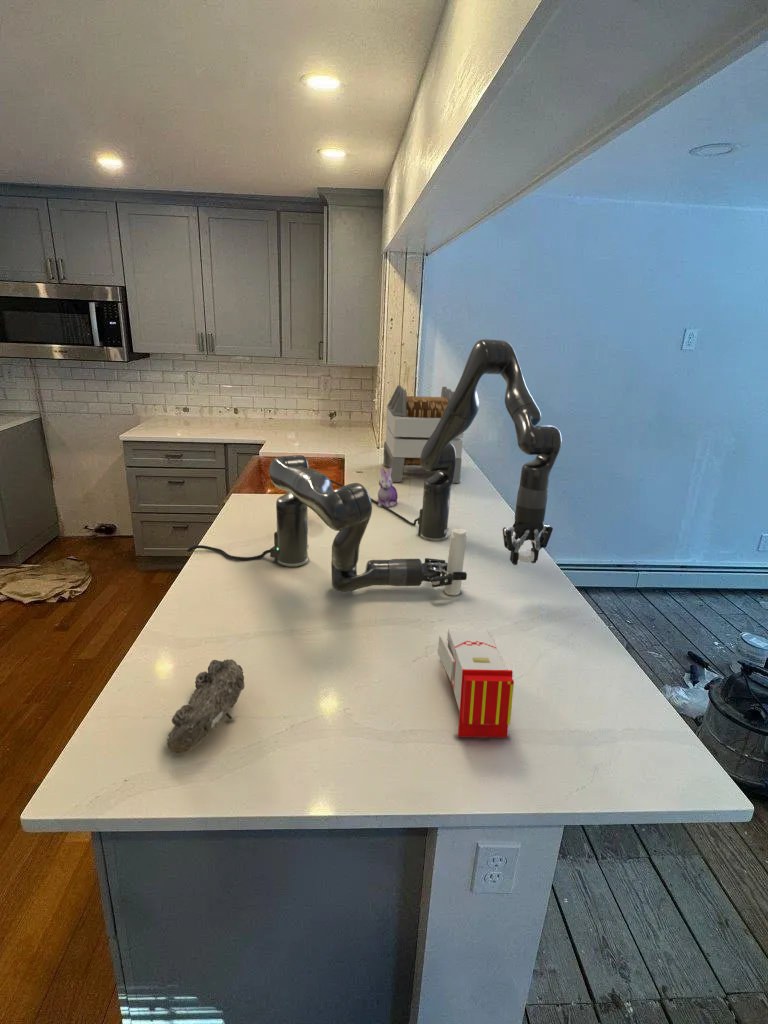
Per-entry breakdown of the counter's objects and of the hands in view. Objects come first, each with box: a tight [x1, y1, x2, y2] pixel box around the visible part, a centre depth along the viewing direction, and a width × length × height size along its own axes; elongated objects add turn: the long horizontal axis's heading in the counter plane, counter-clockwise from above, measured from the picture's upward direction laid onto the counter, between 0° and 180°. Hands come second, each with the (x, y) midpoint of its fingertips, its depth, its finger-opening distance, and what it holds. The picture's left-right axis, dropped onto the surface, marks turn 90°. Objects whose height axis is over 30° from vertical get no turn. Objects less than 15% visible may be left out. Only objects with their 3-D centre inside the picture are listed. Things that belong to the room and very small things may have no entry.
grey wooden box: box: [383, 384, 464, 484], centre depth 268 cm, size 34×33×41 cm
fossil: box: [166, 658, 245, 754], centre depth 106 cm, size 22×10×15 cm
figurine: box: [377, 467, 399, 508], centre depth 227 cm, size 9×10×15 cm
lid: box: [518, 548, 535, 563], centre depth 151 cm, size 5×5×2 cm
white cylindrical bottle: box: [444, 528, 468, 596], centre depth 157 cm, size 4×4×19 cm
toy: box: [437, 628, 515, 738], centre depth 117 cm, size 12×13×30 cm
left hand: (463, 571), depth 159 cm, fingers closed on white cylindrical bottle, 4 cm apart
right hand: (523, 562), depth 152 cm, fingers closed on lid, 5 cm apart
